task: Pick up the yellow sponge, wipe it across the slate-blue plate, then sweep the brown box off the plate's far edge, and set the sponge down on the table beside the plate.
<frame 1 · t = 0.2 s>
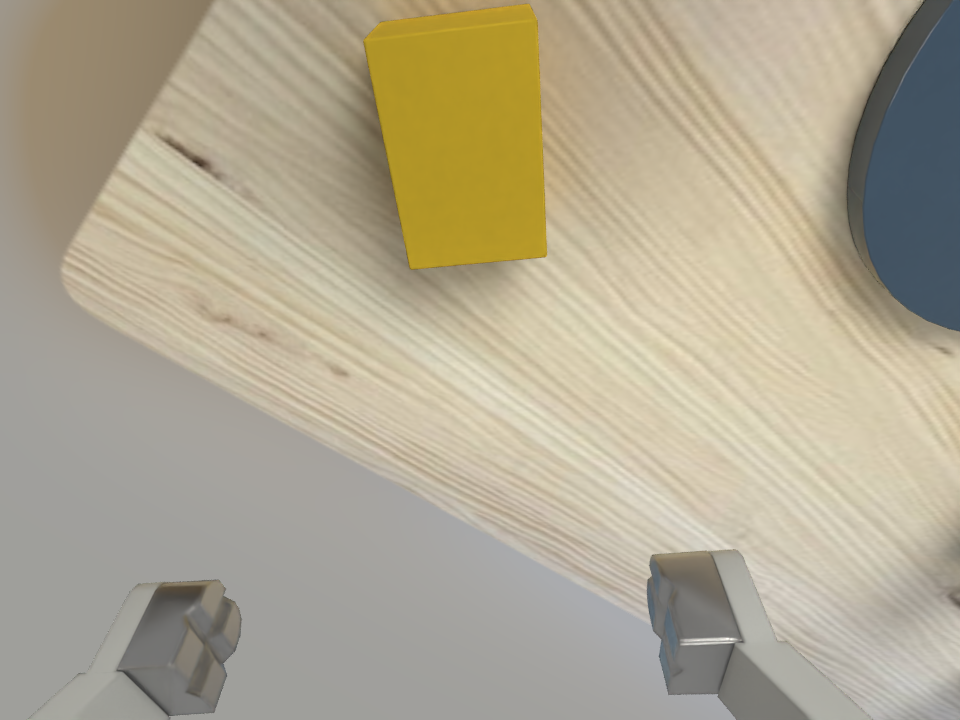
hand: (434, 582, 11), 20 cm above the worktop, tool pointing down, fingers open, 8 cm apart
sponge: (467, 130, 26), on the worktop
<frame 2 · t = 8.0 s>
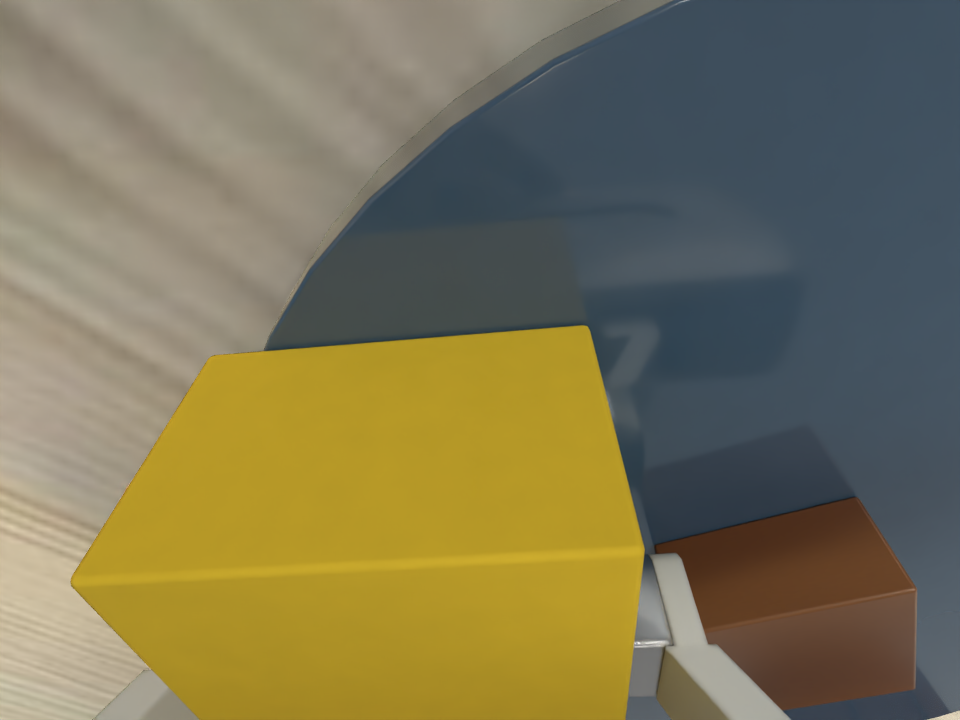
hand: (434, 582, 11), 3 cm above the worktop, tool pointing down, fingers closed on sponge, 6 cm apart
sponge: (437, 518, 12), point 2 cm above the worktop, touching gripper, plate
plate: (737, 503, 14), on the worktop
brown box: (764, 572, 13), point 2 cm above the worktop, touching gripper, plate
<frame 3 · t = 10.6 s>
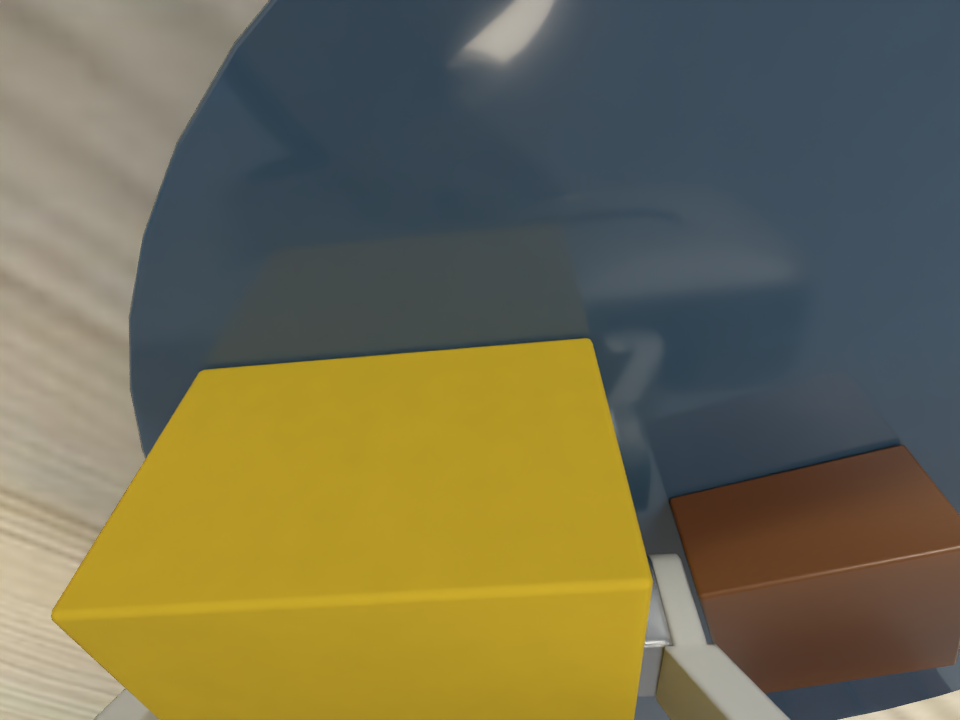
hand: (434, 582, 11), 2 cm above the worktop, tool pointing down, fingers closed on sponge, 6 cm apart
sponge: (436, 532, 11), point 2 cm above the worktop, touching gripper
plate: (716, 454, 12), on the worktop
brown box: (788, 534, 11), point 2 cm above the worktop
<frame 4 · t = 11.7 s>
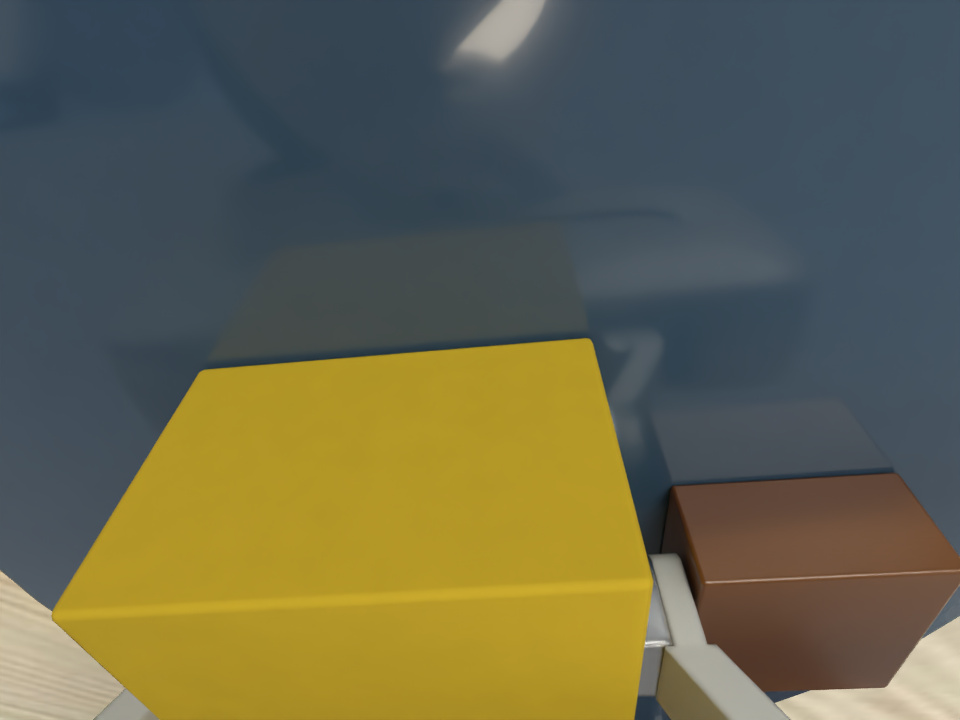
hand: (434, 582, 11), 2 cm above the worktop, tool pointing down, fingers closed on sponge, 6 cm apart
sponge: (436, 532, 11), point 2 cm above the worktop, touching gripper
plate: (506, 473, 13), on the worktop
brown box: (761, 543, 12), point 2 cm above the worktop, touching plate
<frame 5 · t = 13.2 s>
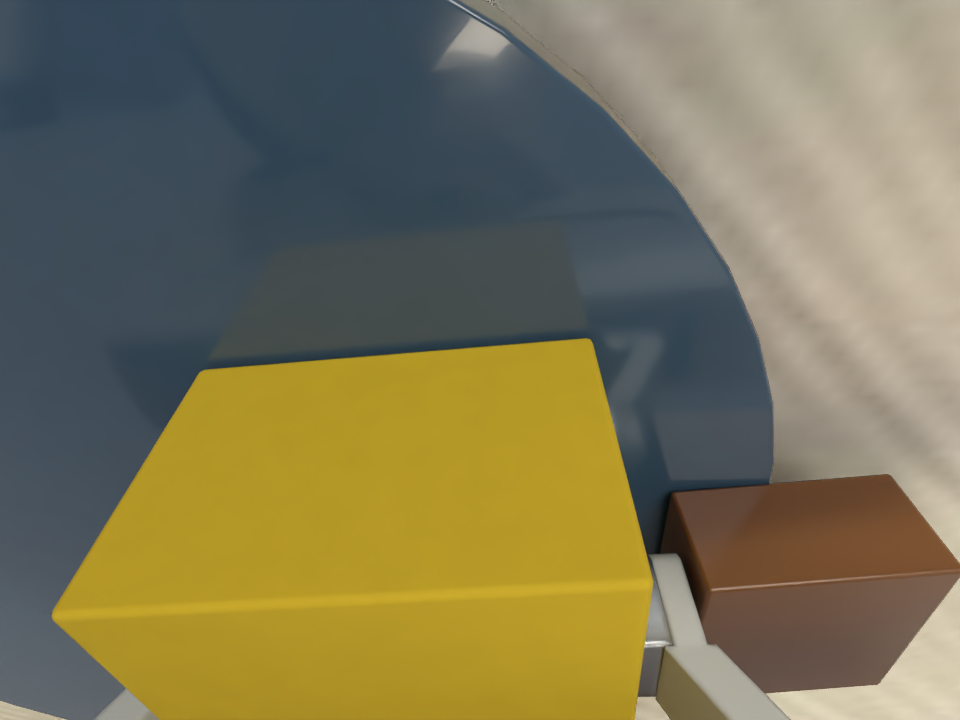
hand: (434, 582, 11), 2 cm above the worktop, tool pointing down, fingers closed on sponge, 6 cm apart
sponge: (436, 532, 11), point 2 cm above the worktop, touching gripper
plate: (240, 492, 13), on the worktop
brown box: (756, 546, 12), point 1 cm above the worktop, touching gripper, plate
when the fingers open (1 cm above the worktop, at t = 21.9 s): sponge stays where it is, on the worktop.
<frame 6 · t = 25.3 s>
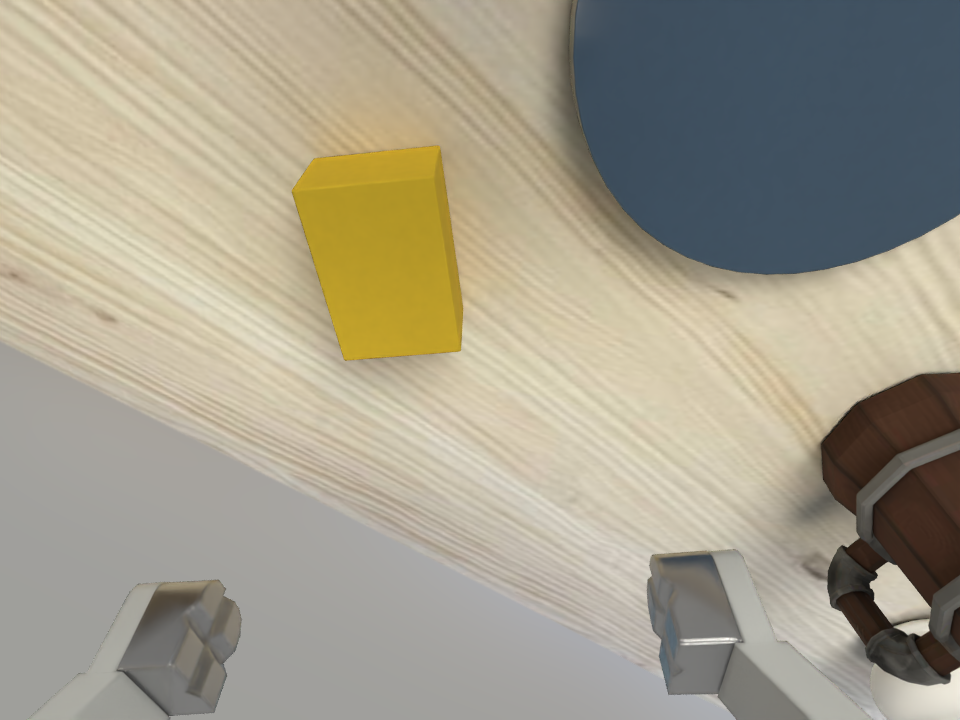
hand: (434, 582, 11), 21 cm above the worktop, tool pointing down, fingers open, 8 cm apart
sponge: (394, 239, 30), on the worktop
vase: (910, 633, 54), on the worktop
mug: (883, 455, 39), on the worktop
plate: (840, 18, 24), on the worktop
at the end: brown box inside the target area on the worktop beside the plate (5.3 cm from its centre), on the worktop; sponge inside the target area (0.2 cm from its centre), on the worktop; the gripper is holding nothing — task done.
